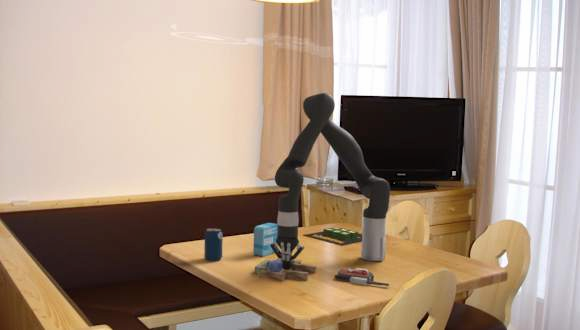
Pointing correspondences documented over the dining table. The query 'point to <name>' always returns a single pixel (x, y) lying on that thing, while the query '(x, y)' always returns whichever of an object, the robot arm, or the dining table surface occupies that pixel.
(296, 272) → the trap channel
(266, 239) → the light blue box
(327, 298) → the dining table surface
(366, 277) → the walkie-talkie
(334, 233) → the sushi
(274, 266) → the decorative dice
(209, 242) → the soda can
